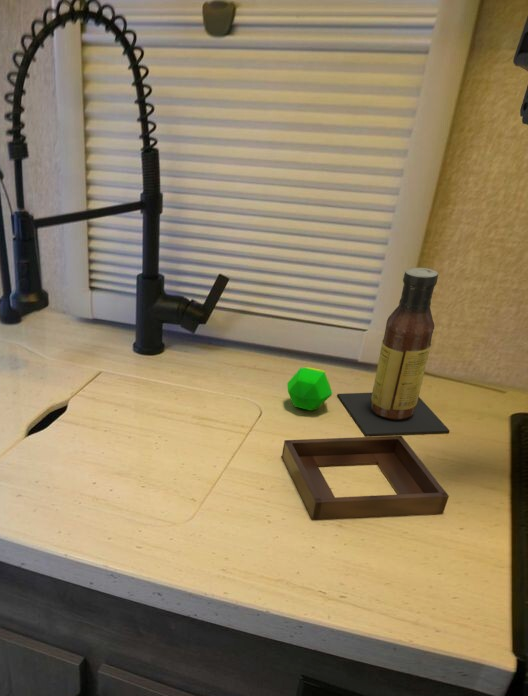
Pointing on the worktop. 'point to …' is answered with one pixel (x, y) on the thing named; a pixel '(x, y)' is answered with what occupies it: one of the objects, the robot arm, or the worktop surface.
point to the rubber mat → (380, 426)
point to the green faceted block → (309, 388)
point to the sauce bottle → (405, 348)
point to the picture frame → (386, 451)
